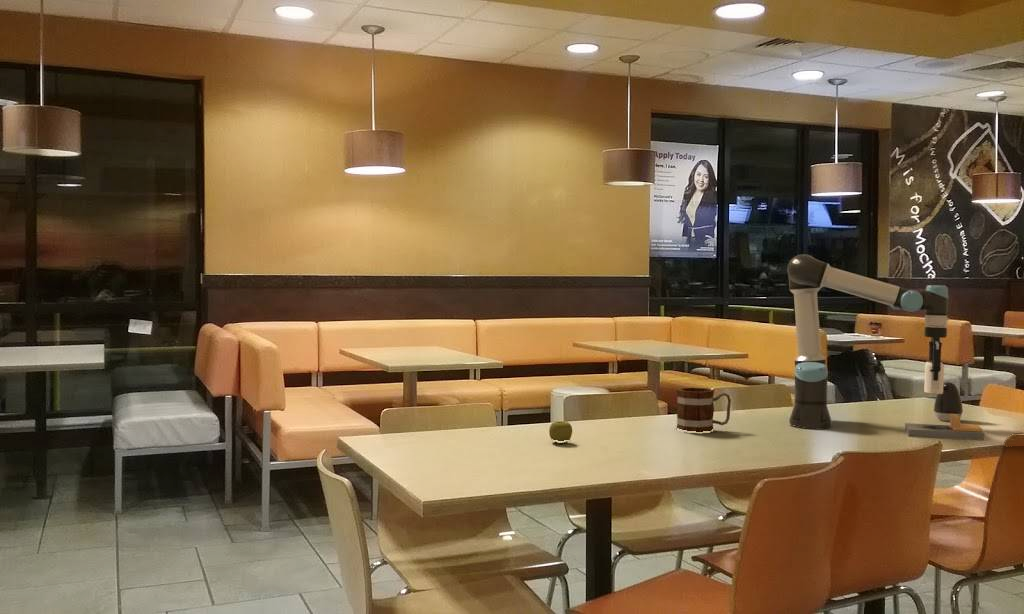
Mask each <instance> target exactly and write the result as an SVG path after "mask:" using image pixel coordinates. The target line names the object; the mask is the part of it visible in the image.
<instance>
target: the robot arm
mask: <svg viewBox="0 0 1024 614" xmlns="http://www.w3.org/2000/svg"><path fill="white" fill-rule="evenodd" d="M786 271H787V275H788V286H789V287H788V288H789V291H790V292H791V293H792V294H793V300H794V302H793V303H794V314H795V315H794V316H795V327H796V328H795V331H796V343H797V344H796V345H797V356H796V357H795V358H794V372H793V373H794V405H793V408H792V411H791V413H790V417H789V419H788V421H789V422H788V423H790V424H791V425H795V426H799V427H805V428H804V429H809V428H824V429H830V428H832V427H833V426H832V425H833V423H832V417H831V415H830V412H829V409H828V376H829V371H828V366H827V359H826V357H825V356H824V355H823V354H822V346H821V332H820V331H821V330H820V319H819V306H818V305H819V304H818V303H819V301H818V292H819V291H820V290H821V288H823V287H825V288H828V289H832V290H836V291H839V292H842V293H845V294H846V293H847V294H849V295H854V296H856V297H860V298H863V299H866V300H869V301H873V302H877V303H881V304H884V305H887V306H890V307H891V309H892V310H896V311H897V310H898V311H906V312H909V313H915V312H917V311H925V314H924V325H925V327H924V337H926V338H931V339H930V341H929V342H928V351H929V352H928V361H932V370H930V372H931V389H938V390H939V376H940V370H941V368H940V367H941V357H942V345H943V344H942V342H941V341H940V340H941V339H944V338H945V339H946V338H947V336H948V333H947V332H948V328H947V326H948V321H949V320H950V318H949V317H948V310H949V309H948V307H949V289H948V288H949V287H947V286H946V285H934V284H931V285H930V284H928V285H926V287H925V290H923V289H922V290H917V289H916V290H915V289H914V290H913V289H908V288H905V287H900V286H898V285H896V284H895V285H894V284H891V283H888V282H884V281H881V280H876V279H874V278H870V277H868V276H867V277H866V276H864V275H860V274H857V273H853V272H849V271H846V270H843V269H839V268H835V267H833V266H831V265H830V264H829V263H828V262H824V261H821V260H819V259H817V258H815V257H813V255H809V254H804V253H802V254H797V255H795V256H793V257H792V258H791V259H790V260H789V262H788V264H787V269H786ZM940 338H941V339H940ZM791 425H790V426H791ZM799 427H798V428H799Z"/></svg>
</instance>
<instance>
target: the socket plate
mask: <svg viewBox="0 0 1024 614" xmlns="http://www.w3.org/2000/svg"><path fill="white" fill-rule="evenodd" d="M904 431H905V433H906V435H907V436H908V437H914V438H931V439H932V438H934V439H949V438H950V439H951V440H967V439H969V440H972V441H985V432H984V431H983V430H982V432H979V431H959V430H953V429H952V428H951V427H950V424H933V423H932V424H929V423H911V422H909V423H906V422H905V423H904ZM950 439H949V440H950Z"/></svg>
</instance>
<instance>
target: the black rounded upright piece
mask: <svg viewBox="0 0 1024 614" xmlns="http://www.w3.org/2000/svg"><path fill="white" fill-rule="evenodd" d="M963 410H964V409H963V401H962V397H961V394H960V390H959V388H958V387H957V386H956V384H955V383H953V382H952V381H946V382H943V393H942V394H936V397H935V400H934V406H933V412H934V414H935V417H936V418H937V420H939V421H941V422H947V423H948V422H949V423H950V414H957V415H958V416H959V417H960V418H961V417H962V414H963V413H964V411H963Z"/></svg>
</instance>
